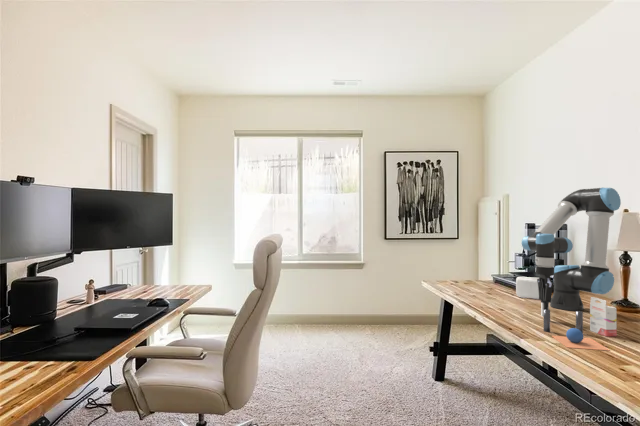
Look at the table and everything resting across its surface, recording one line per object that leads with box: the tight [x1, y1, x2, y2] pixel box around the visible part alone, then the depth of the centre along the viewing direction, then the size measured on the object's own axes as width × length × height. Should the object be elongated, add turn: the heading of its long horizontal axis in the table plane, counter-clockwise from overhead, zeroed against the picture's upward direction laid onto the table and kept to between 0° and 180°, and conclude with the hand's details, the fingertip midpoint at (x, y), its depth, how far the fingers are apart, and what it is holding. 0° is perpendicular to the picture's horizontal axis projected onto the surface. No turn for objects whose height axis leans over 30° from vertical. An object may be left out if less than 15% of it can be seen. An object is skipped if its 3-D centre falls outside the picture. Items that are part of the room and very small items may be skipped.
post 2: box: [575, 310, 584, 334], centre depth 156 cm, size 2×2×9 cm
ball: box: [565, 327, 584, 343], centre depth 144 cm, size 6×6×6 cm
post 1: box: [543, 309, 551, 333], centre depth 158 cm, size 2×2×9 cm
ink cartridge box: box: [589, 296, 618, 337], centre depth 156 cm, size 9×5×15 cm, turn 5°
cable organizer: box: [515, 276, 540, 300], centre depth 228 cm, size 15×11×12 cm
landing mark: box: [551, 335, 611, 352], centre depth 143 cm, size 14×14×1 cm
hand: (544, 316), depth 175 cm, fingers closed
